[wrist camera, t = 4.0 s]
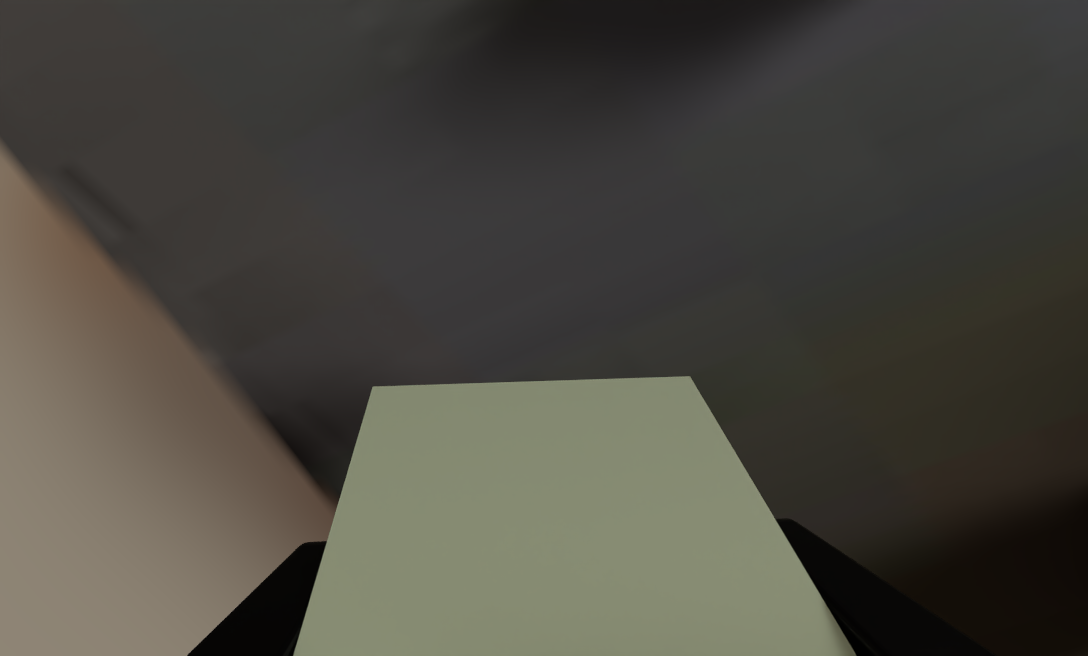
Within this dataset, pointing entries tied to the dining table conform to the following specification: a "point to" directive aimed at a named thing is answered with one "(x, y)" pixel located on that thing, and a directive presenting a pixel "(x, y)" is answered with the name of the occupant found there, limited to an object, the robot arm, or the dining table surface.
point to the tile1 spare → (556, 531)
